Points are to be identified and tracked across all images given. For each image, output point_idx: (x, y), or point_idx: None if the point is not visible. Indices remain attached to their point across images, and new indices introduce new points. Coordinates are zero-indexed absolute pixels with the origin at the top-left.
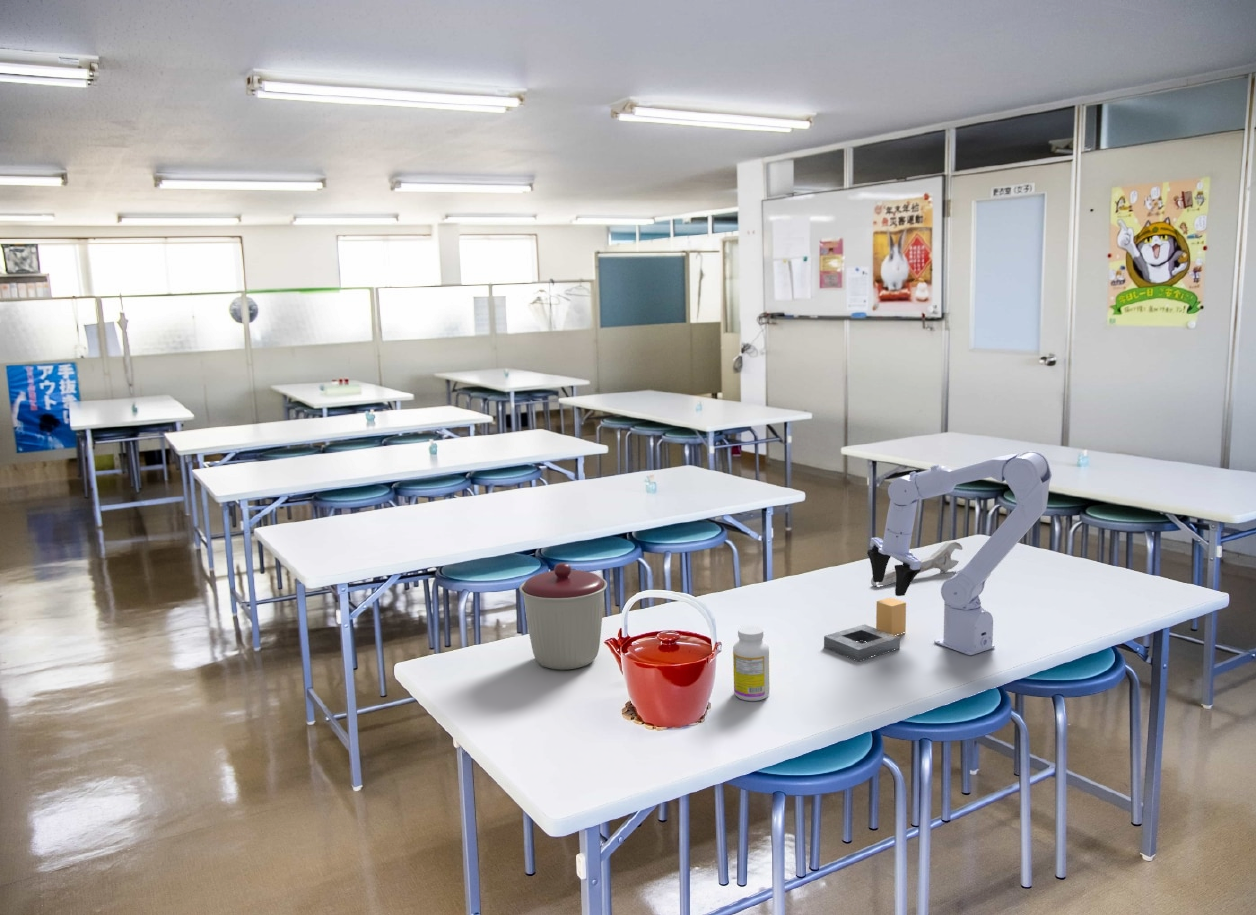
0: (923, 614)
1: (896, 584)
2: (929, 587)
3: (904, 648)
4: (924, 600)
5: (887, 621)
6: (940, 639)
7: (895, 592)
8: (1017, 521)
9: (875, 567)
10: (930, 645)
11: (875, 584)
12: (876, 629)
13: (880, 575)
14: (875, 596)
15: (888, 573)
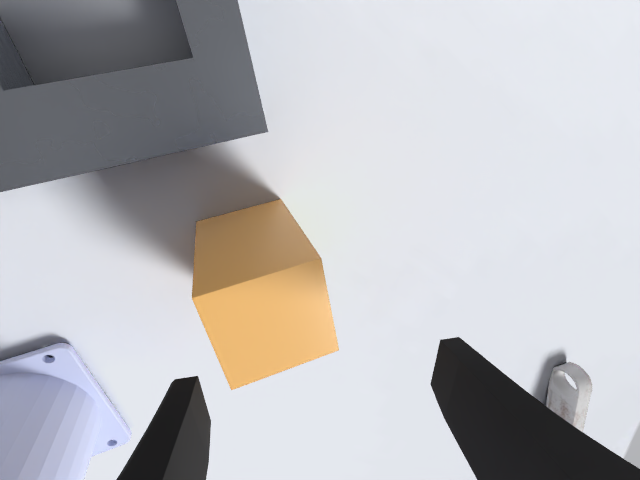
0: (349, 400)
1: (155, 472)
2: None
3: (26, 201)
4: (428, 430)
5: (223, 241)
6: (73, 372)
7: (186, 392)
8: None
9: (535, 452)
10: (45, 318)
11: (563, 369)
12: (170, 144)
13: (462, 413)
14: (519, 341)
15: (574, 418)
